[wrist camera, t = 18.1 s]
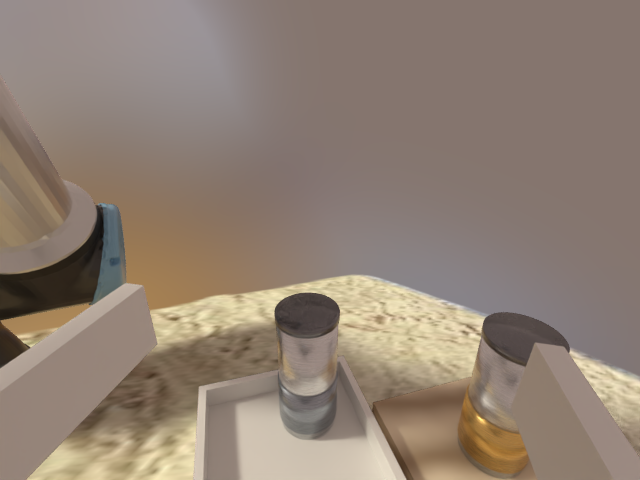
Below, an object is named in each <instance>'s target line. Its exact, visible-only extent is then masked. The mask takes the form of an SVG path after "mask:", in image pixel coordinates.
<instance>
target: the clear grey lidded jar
mask: <svg viewBox="0 0 640 480" xmlns="http://www.w3.org/2000/svg"><path fill="white" fill-rule="evenodd" d="M339 317H340V309H339V306H338V305H337V303H336V302H335V301H334V300H332V299H331V298H329V297H327V296H325V295H321V294H317V293H299V294H294V295H291V296H288V297H286V298H285V299H283V300H282V301H280V302H279V303H278V304H277V306H276V308H275V323H276V329H277V347H278V365H279V371H278V391H279V408H280V416H281V419H282V423H283V426H284V428H285V429H286V431H287V432H288V433H289V434H290V435H292V436H294V437H296V438H298V439H302V440H313V439H317V438H319V437H321V436H323V435H325V434H326V433H327V432H328V431H329V430H330V429H331V427H332V425H333V423H334V420H335V416H336V409H337V383H338V372H337V344H338V323H339Z"/></svg>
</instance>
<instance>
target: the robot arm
mask: <svg viewBox="0 0 640 480" xmlns="http://www.w3.org/2000/svg"><path fill="white" fill-rule="evenodd" d="M84 304H89V305H92V306H91V307H89V308H88V309H87V310H85V311H84V312H82V313H81V314H79V315H78V316H77V317H75V318H73V319H72V320H71V321H69V322H68V323H66V324H65V325H63V326H62V327H60V328H59V329H57V330H56V331H54V332H53V333H51V334H50V335H49V336H47V337H46V338H44V339H43V340H41V341H40V342H38V343H37V344H35V345H34V346H32V347H31V348H30V347H29V346H27V345H26V344H24V343H23V342H22V341H21V340H20V339H19V338H18V337H17V336H15V335H14V334H13V333H12V332H11V331H10V330H8V329H7V328H6V327H5V326H4V325H3V324H2V323H1V321H0V480H26V479H27V478H28V477H29V476H30V475H31V474H32V473H33V472H34V471H35V470H36V469H37V468H38V467H39V466H40V465H41V464H42V463H43V462H44V461H45V460H46V459H47V457H48V456H49V455H50V454H51V453H52V452H53V451H54V450H55V449H56V448H57V447H58V446H59V445H60V444H61V443H62V442H63V441H64V440H65V439H66V438H67V437H68V436H69V435H70V434H71V433H72V432H73V431H74V430H75V429H76V428H77V426H78V425H79V424H80V423H81V422H82V421H83V420H84V419H85V418H86V417H87V416H88V415H89V414H90V413H91V412H92V411H93V410H94V409H95V408H96V407H97V406H98V405H99V404H100V403H101V402H102V401H103V400H104V399H105V398H106V397H107V396H108V394H109V393H110V392H111V391H112V390H113V389H114V388H115V387H116V386H117V385H118V384H119V383H120V382H121V381H122V380H123V379H124V378H125V377H126V376H127V375H128V374H129V373H130V372H131V371H132V370H133V369H134V368H135V367H136V366H137V365H138V363H139V362H140V361H141V360H142V359H143V358H144V357H145V356H146V355H147V354H148V353H149V352H150V351H151V350H152V349H153V348H154V347H155V346H156V345H157V340H156V336H155V332H154V328H153V323H152V319H151V315H150V311H149V307H148V303H147V299H146V295H145V291H144V286H143V285H136V284H129V283H126V260H125V248H124V238H123V230H122V223H121V216H120V212H119V209H118V207H117V206H115V205H113V204H105V203H99V204H98V205H95V203H94V201H93V200H92V198H91V197H90V195H89V194H88V193H87V192H86V191H85V190H83V189H82V188H80V187H79V186H77V185H75V184H73V183H71V182H68V181H66V180H62V179H61V177H60V176H59V174H58V172H57V170H56V169H55V167H54V165H53V163H52V162H51V160H50V159H49V157H48V155H47V153H46V152H45V150H44V148H43V146H42V145H41V143H40V141H39V140H38V138H37V136H36V134H35V133H34V131H33V129H32V128H31V126H30V124H29V123H28V121H27V119H26V117H25V116H24V114H23V112H22V111H21V109H20V107H19V105H18V104H17V102H16V100H15V99H14V97H13V95H12V94H11V92H10V90H9V88H8V87H7V85H6V83H5V82H4V80H3V78H2V77H1V75H0V320H4V319H10V318H15V317H21V316H26V315H31V314H36V313H42V312H47V311H52V310H57V309H63V308H68V307H74V306H79V305H84ZM511 411H512V413H513V416H514V419H515V421H516V424H517V427H518V429H519V432H520V435H521V437H522V440H523V443H524V445H525V448H526V451H527V453H528V456H529V459H530V462H531V464H532V467H533V470H534V472H535V475H536V478H537V480H640V457H639V456H638V454H637V453H636V451H635V450H634V448H633V447H632V445H631V444H630V442H629V441H628V440H627V438H626V437H625V435H624V434H623V432H622V431H621V429H620V428H619V426H618V425H617V423H616V422H615V420H614V419H613V418H612V416H611V415H610V413H609V412H608V410H607V409H606V407H605V406H604V404H603V403H602V401H601V400H600V398H599V397H598V396H597V394H596V393H595V391H594V390H593V388H592V387H591V385H590V384H589V382H588V381H587V379H586V378H585V376H584V375H583V374H582V372H581V371H580V369H579V368H578V366H577V365H576V363H575V362H574V360H573V359H572V357H571V356H570V354H569V353H568V352H567V350H566V349H565V347H563V346H556V345H549V344H542V343H536V342H535V344H534V346H533V349H532V352H531V354H530V357H529V360H528V363H527V365H526V368H525V371H524V373H523V376H522V379H521V381H520V384H519V387H518V389H517V392H516V395H515V398H514V400H513V403H512V406H511Z"/></svg>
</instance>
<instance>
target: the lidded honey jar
mask: <svg viewBox="0 0 640 480" xmlns="http://www.w3.org/2000/svg"><path fill="white" fill-rule="evenodd" d="M535 342H536V343H542V344H549V345H556V346H563V347H565V349H566V350H567V352H568V353H569V351H570V348H569V344H568V343H567V341H566V339H565V338H564V337H563V336H562V335H561V334H560V333H559V332H558V331H556V330H555V329H554V328H552V327H550V326H549V325H547V324H545V323H543V322H541V321H539V320H537V319H534V318H531V317H528V316H525V315H521V314H516V313H508V312H505V313H504V312H503V313H502V312H501V313H494V314H491V315H489V316H488V317H486V318H485V320H484V323H483V327H482V336H481V340H480V344H479V348H478V352H477V356H476V361H475V365H474V369H473V373H472V377H471V381H470V384H469V385H468V387H467V390H466V394H465V398H464V402H463V406H462V410H461V415H460V419H459V423H458V428H457V431H458V434H457V439H458V444H459V447H460V449H461V451H462V453H463V454H464V456H465V457H466V458H467V460H468V461H469V462H470V463H471V464H472V465H474V466H475V467H476V468H477V469H479V470H480V471H482V472H483V473H485V474H487V475H489V476H492V477H495V478H500V479H511V478H514V477H516V476H518V475H519V474H520V473H521V472H522V470H523V469H524V468H525V467H526V465H527V463H528V460H529V456H528V453H527V451H526V448H525V445H524V443H523V440H522V437H521V435H520V432H519V429H518V427H517V424H516V421H515V419H514V416H513V413H512V411H511V406H512V403H513V400H514V398H515V395H516V392H517V389H518V387H519V384H520V381H521V379H522V376H523V373H524V371H525V368H526V365H527V363H528V360H529V357H530V354H531V352H532V349H533V346H534V344H535Z"/></svg>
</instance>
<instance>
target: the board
mask: <svg viewBox="0 0 640 480" xmlns="http://www.w3.org/2000/svg"><path fill="white" fill-rule="evenodd" d="M470 381H471V377H468V378H465V379H461V380H457V381H453V382H449V383H446V384H442V385H438V386H434V387H430V388H427V389H423V390H419V391H415V392H411V393H407V394H404V395H400V396H396V397H392V398H388V399H385V400H381V401H377V402H373V410H372V412H373V414H374V416H375V418H376V420H377V422H378V424H379V426H380V428H381V430H382V432H383V434H384V436H385V438H386V440H387V441H388V443H389V445H390V447H391V449H392V451H393V453H394V455H395V457H396V459H397V461H398V463H399V465H400V467H401V469H402V471H403V473H404V475H405V477H406V479H407V480H537V478H536V475H535V472H534V470H533V467H532V464H531V462H530V459H529V460H528V463H527V465H526V467H525V468H524V469H523V470H522V472H521V473H520V474H519V475H518V476H516V477H514V478H511V479H500V478H495V477H492V476H489V475H487V474H485V473H483V472H482V471H480V470H479V469H477V468H476V467H475V466H474V465H472V464H471V463H470V462H469V461H468V460H467V458H466V457H465V456H464V454H463V453H462V451H461V449H460V447H459V444H458V439H457V434H458V431H457V428H458V423H459V419H460V415H461V410H462V406H463V402H464V398H465V394H466V390H467V387H468V385H469V384H470Z"/></svg>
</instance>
